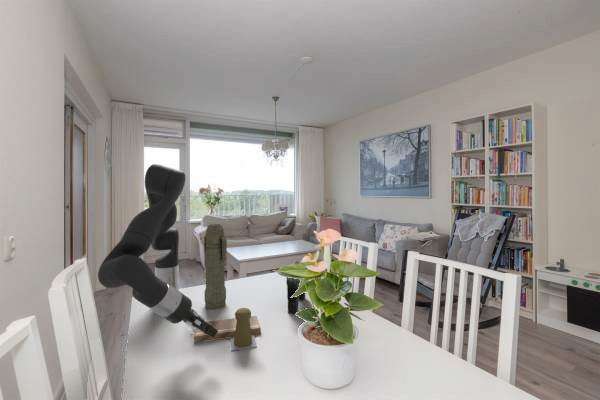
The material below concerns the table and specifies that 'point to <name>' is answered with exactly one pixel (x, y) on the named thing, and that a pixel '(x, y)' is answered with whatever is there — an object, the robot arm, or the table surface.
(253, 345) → the slate end mark
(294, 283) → the ceramic cat
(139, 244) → the robot arm
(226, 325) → the walnut board
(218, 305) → the thermos
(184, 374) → the table surface
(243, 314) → the olive game pawn
